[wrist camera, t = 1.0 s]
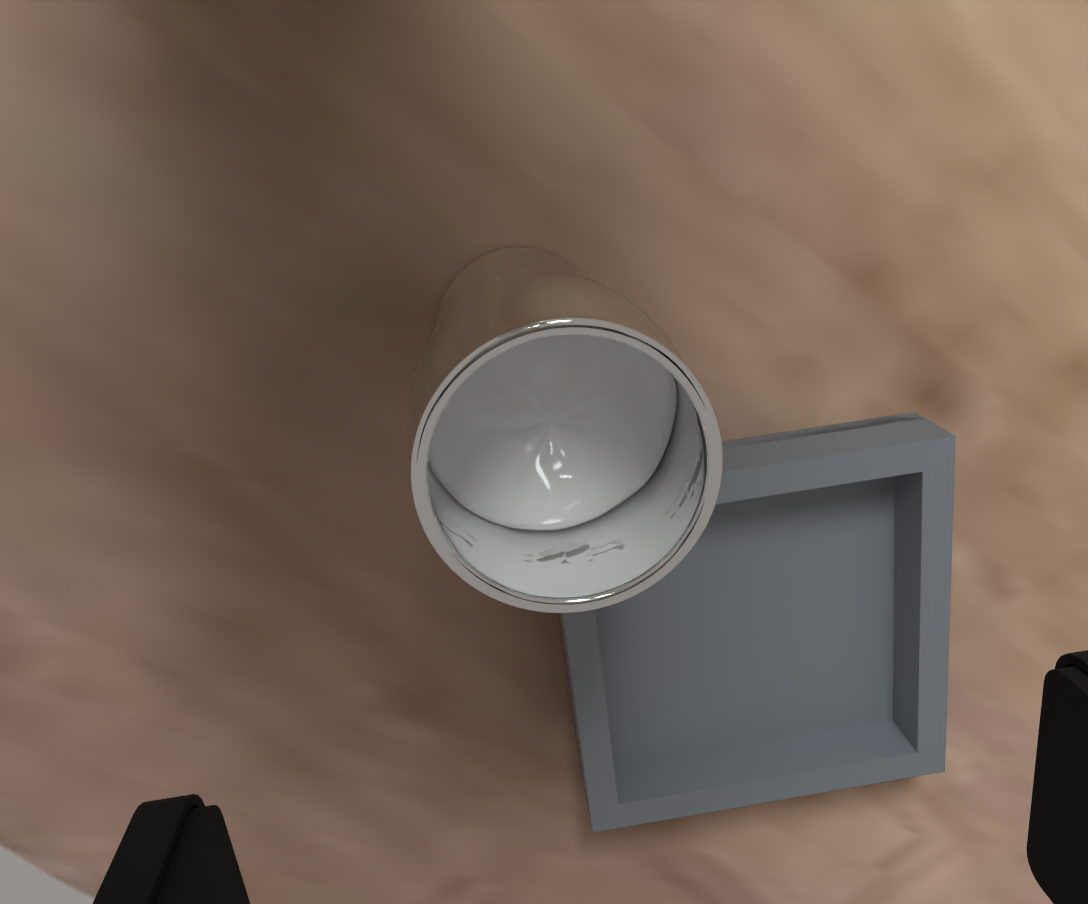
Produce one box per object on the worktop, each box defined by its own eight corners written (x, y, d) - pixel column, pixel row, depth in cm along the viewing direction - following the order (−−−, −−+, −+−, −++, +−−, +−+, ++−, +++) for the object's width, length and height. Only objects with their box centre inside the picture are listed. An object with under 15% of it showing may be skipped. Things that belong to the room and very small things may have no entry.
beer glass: (645, 366, 33) (784, 530, 19) (482, 453, 34) (503, 674, 20) (560, 197, 31) (647, 241, 17) (387, 292, 32) (333, 413, 17)
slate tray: (539, 470, 34) (547, 499, 31) (914, 412, 35) (955, 435, 32) (582, 783, 39) (592, 832, 37) (910, 727, 40) (944, 771, 37)
